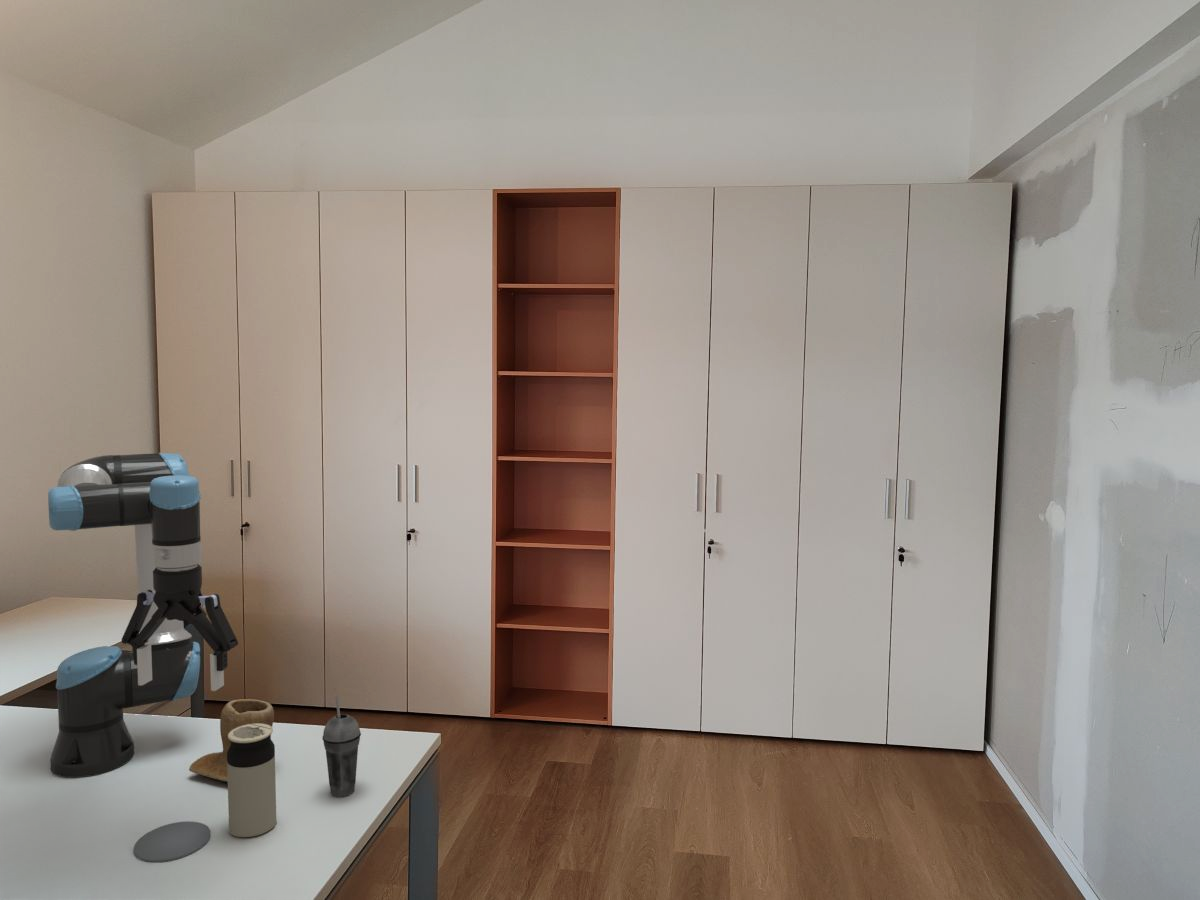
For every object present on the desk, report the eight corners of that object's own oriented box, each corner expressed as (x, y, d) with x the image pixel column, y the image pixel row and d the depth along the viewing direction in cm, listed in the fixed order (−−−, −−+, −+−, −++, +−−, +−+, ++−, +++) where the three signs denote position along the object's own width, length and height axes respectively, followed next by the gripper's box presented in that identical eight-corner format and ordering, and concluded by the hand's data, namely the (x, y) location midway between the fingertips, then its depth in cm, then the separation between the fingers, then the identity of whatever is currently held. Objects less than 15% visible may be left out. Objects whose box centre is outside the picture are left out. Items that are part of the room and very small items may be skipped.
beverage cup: (369, 787, 167) (368, 690, 165) (344, 804, 160) (342, 703, 159) (341, 779, 170) (339, 684, 168) (315, 795, 163) (313, 697, 162)
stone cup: (288, 768, 175) (286, 698, 173) (244, 794, 164) (242, 720, 162) (233, 754, 180) (231, 687, 179) (187, 779, 169) (185, 707, 168)
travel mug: (247, 843, 147) (244, 745, 145) (219, 830, 151) (216, 734, 149) (285, 823, 153) (283, 729, 152) (258, 811, 158) (256, 719, 156)
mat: (123, 842, 146) (123, 840, 146) (194, 816, 155) (194, 814, 155) (148, 871, 138) (148, 868, 138) (222, 842, 147) (221, 839, 147)
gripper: (95, 567, 141) (100, 688, 144) (232, 575, 138) (236, 698, 141) (125, 557, 149) (130, 672, 151) (257, 564, 146) (259, 682, 148)
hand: (181, 685), depth 146 cm, fingers open, 13 cm apart
